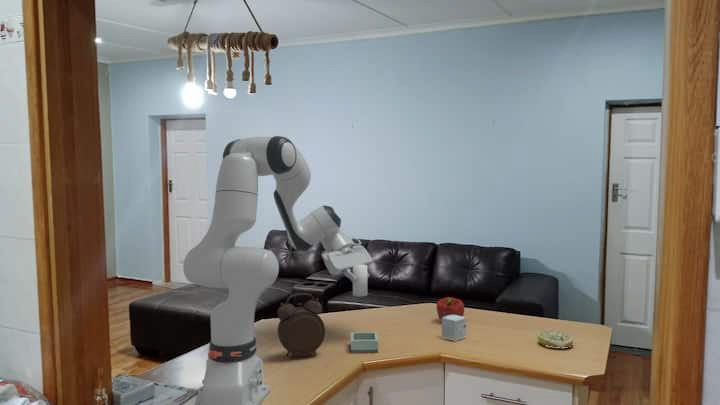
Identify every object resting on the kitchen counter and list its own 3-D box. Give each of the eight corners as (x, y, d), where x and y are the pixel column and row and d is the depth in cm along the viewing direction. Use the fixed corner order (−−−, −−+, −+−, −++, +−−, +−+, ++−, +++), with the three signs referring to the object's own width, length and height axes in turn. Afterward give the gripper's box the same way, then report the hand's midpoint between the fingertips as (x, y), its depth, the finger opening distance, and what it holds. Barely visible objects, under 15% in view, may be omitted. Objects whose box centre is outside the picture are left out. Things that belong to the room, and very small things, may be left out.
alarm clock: (319, 348, 172) (319, 288, 170) (326, 356, 165) (325, 293, 163) (275, 355, 166) (274, 293, 165) (280, 363, 160) (279, 298, 158)
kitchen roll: (367, 296, 177) (367, 267, 176) (352, 296, 177) (352, 267, 176) (367, 292, 182) (367, 264, 181) (352, 293, 182) (352, 264, 181)
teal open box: (377, 352, 167) (377, 340, 167) (351, 353, 167) (350, 340, 167) (376, 343, 176) (376, 331, 176) (351, 343, 176) (351, 332, 176)
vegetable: (463, 327, 192) (463, 300, 192) (435, 325, 195) (435, 299, 194) (464, 319, 203) (464, 293, 202) (437, 317, 205) (437, 292, 205)
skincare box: (455, 342, 177) (455, 320, 176) (441, 338, 181) (441, 317, 181) (466, 338, 181) (466, 317, 180) (452, 334, 185) (452, 313, 185)
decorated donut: (565, 353, 166) (565, 341, 165) (532, 345, 173) (532, 334, 172) (577, 344, 173) (577, 333, 173) (545, 337, 180) (545, 327, 180)
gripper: (324, 246, 174) (346, 278, 169) (362, 239, 190) (384, 268, 185) (314, 258, 177) (336, 290, 172) (352, 250, 193) (374, 279, 188)
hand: (361, 279), depth 179 cm, fingers closed on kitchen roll, 5 cm apart
